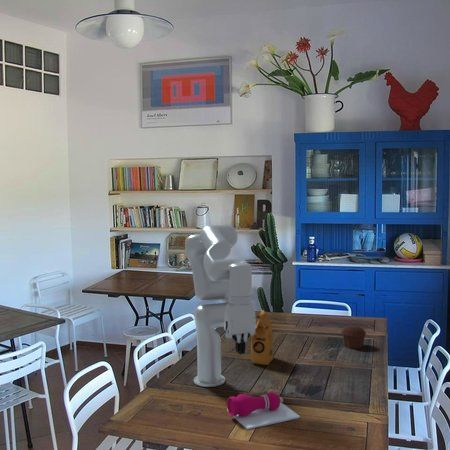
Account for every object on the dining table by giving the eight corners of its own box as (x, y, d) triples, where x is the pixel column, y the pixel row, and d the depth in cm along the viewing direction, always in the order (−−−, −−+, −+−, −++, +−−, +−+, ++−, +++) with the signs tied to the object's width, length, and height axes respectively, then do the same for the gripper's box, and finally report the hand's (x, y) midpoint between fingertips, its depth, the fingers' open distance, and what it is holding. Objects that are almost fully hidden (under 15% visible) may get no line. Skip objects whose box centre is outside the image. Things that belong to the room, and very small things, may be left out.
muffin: (363, 342, 261) (364, 323, 260) (367, 349, 250) (368, 329, 249) (339, 342, 262) (339, 322, 261) (342, 349, 251) (342, 328, 250)
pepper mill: (229, 420, 178) (281, 413, 186) (236, 413, 173) (289, 406, 180) (224, 400, 182) (276, 393, 190) (231, 392, 177) (283, 386, 185)
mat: (226, 410, 185) (226, 408, 185) (276, 400, 193) (276, 398, 193) (247, 429, 170) (247, 427, 170) (299, 417, 178) (299, 416, 178)
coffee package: (247, 364, 232) (247, 315, 231) (254, 355, 244) (254, 308, 242) (269, 366, 229) (269, 316, 228) (275, 357, 241) (275, 310, 239)
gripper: (255, 295, 182) (255, 346, 184) (215, 299, 176) (215, 352, 178) (265, 299, 175) (265, 353, 177) (224, 304, 169) (224, 359, 171)
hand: (240, 352), depth 177 cm, fingers closed
